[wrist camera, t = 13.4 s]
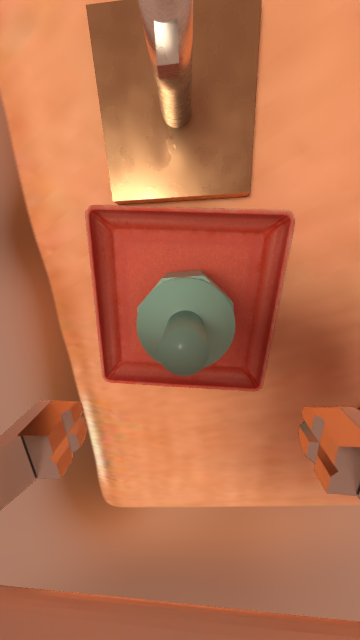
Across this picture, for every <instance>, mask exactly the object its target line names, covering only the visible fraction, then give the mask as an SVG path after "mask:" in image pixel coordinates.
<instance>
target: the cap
mask: <svg viewBox="0 0 360 640" xmlns="http://www.w3.org/2000/svg"><path fill="white" fill-rule="evenodd" d="M137 313H138V315H137V324H136V325H137V333H138V337H139V340H140V342H141V344H142V346H143V348H144V349H145V351H146V352H147V353H148V354H149V355H150V356H151V357H152V358H153V359H154V360H155V361H157V362H158V363H160V364H162V365H163V366H164V367H165V368H166V369H167V370H168V371H170V372H171V373H173V374H176V375H180V376H189V375H193V374H195V373H197V372H199V371H200V370H202V369H203V368H204V367H207V366H209V365H211V364H213V363H214V362H216V361H217V360H219V359H220V358H221V357H222V356H223V355H224V354H225V353H226V351H227V350H228V349H229V347H230V345H231V343H232V341H233V338H234V334H235V316H234V303H233V302H232V301H231V299H230V298H229V297H228V296H227V294H226V293H225V292H224V291H223V290H222V289H221V288H220V287H219V286H218V285H217V284H215V283H214V282H213V281H212V280H211V279H210V278H209V277H208V276H207V275H206V274H205V273H204V272H202V271H201V270H196V271H181V272H168V273H166V275H165V276H164V277H163V278H162V279H161V280H160V281H159V282H158V283H157V285H156V286H155V287H154V288H153V289H152V291H151V292H150V293H149V294H148V295H147V296H146V298H145V299H144V300H143V301H142V303H141V304H140V305H139V306H138V307H137Z"/></svg>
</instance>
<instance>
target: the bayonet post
mask: <svg viewBox="0 0 360 640" xmlns="http://www.w3.org/2000/svg"><path fill="white" fill-rule="evenodd" d="M261 1H262V0H121V1H113V2H105V3H97V4H89V5H86V9H87V16H88V24H89V31H90V38H91V45H92V53H93V60H94V67H95V74H96V82H97V89H98V96H99V104H100V111H101V118H102V125H103V133H104V140H105V147H106V154H107V162H108V169H109V176H110V183H111V191H112V198H113V202H115V203H117V204H118V205H123V204H139V203H154V202H170V201H185V200H201V199H216V198H232V197H246V196H247V195H248V194H249V193H250V186H251V169H252V152H253V135H254V118H255V102H256V85H257V68H258V51H259V34H260V17H261Z"/></svg>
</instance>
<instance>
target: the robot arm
mask: <svg viewBox="0 0 360 640" xmlns="http://www.w3.org/2000/svg"><path fill="white" fill-rule="evenodd" d="M83 411H84V410H83V407H82V403H80V402H72V401H45V400H42V401H39V402H37V403H36V404H35V405H34V406H32V407H31V409H29V410H28V411H27V412H26V413H25V414H24V415H23V416H22V417H21V418H19V419H18V420H17V421H16V422H15V423H14V424H13V425H12V426H11V427H10V428H9V429H8V430H6V431H5V432H4V433H3V434H2V435H0V510H2V509H3V508H4V507H5V506H6V505H7V504H9V503H10V502H11V501H12V500H13V499H14V498H15V497H17V496H18V495H19V494H20V493H21V492H23V491H24V490H25V489H26V488H27V487H29V486H30V485H31V484H32V483H33V482H34V481H36V479H61V478H62V476H63V474H64V473H65V471H66V470H67V468H68V466H69V465H70V463H71V461H72V460H73V457H72V453H73V452H74V451H75V450H77V449H79V448H80V446H81V445H82V443H83V441H84V439H85V435H86V432H87V424H86V420H85V419H84V418H83V417H82V416H81V414H82V412H83ZM301 416H302V417H303V419H304V420H305V421H304V422H303V423H302V424H301V425H300V427H299V440H300V444H301V447H302V449H303V451H304V453H305V455H306V457H308V458H309V459H310V460H311V461H313V462H314V463H315V466H314V471H315V473H316V475H317V477H318V479H319V480H320V482H321V484H322V486H323V488H324V489H325V491H326V493H331V494H343V495H355V496H358V498H359V499H360V409H359V410H358V409H356V408H354V407H352V406H336V407H316V406H305V407H304V408H303V410H302V415H301ZM0 640H360V622H359V621H349V620H339V619H329V618H319V617H310V616H300V615H290V614H280V613H270V612H259V611H250V610H241V609H231V608H221V607H211V606H202V605H191V604H181V603H172V602H161V601H152V600H143V599H132V598H123V597H113V596H103V595H93V594H82V593H73V592H64V591H63V592H62V591H54V590H43V589H34V588H23V587H14V586H4V585H0Z"/></svg>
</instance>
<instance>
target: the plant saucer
mask: <svg viewBox="0 0 360 640" xmlns="http://www.w3.org/2000/svg"><path fill="white" fill-rule="evenodd" d="M85 221H86V231H87V239H88V249H89V257H90V267H91V277H92V286H93V294H94V305H95V314H96V323H97V333H98V341H99V351H100V361H101V372H102V377H103V379H104V380H105V381H107V382H110V383H124V384H141V385H156V386H173V387H189V388H206V389H222V390H239V391H258V390H259V389H261V388H262V386H263V382H264V377H265V371H266V367H267V362H268V356H269V350H270V346H271V341H272V336H273V331H274V325H275V321H276V315H277V310H278V305H279V301H280V295H281V291H282V286H283V280H284V275H285V271H286V265H287V260H288V255H289V250H290V246H291V241H292V235H293V231H294V225H295V218H294V214H293V213H292V211H289V210H266V209H225V208H182V207H146V206H121V205H118V206H114V205H91V206H89V207H88V209H87V210H86V211H85ZM196 270H201V271H202V272H204V273H205V274H206V275H207V276H208V277H209V278H210V279H211V280H212V281H213V282H214V283H215V284H217V285H218V286H219V287H220V288H221V289H222V290H223V291H224V292H225V293H226V294H227V296H228V297H229V298H230V299H231V301H232V302H233V303H234V316H235V334H234V338H233V341H232V343H231V345H230V347H229V349H228V350H227V351H226V353H225V354H224V355H223V356H222V357H221V358H220V359H219V360H217V361H216V362H214V363H213V364H211V365H209V366H207V367H204V368H203V369H202V370H200V371H199V372H197V373H195V374H193V375H189V376H180V375H176V374H173V373H171V372H170V371H168V370H167V369H166V368H165V367H164V366H163V365H162V364H160V363H158V362H157V361H155V360H154V359H153V358H152V357H151V356H150V355H149V354H148V353H147V352H146V351H145V349H144V348H143V346H142V344H141V342H140V340H139V337H138V333H137V325H136V324H137V315H138V313H137V307H138V306H139V305H140V304H141V303H142V301H143V300H144V299H145V298H146V296H147V295H148V294H149V293H150V292H151V291H152V289H153V288H154V287H155V286H156V285H157V283H158V282H159V281H160V280H161V279H162V278H163V277H164V276H165V275H166V273H168V272H181V271H196Z"/></svg>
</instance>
